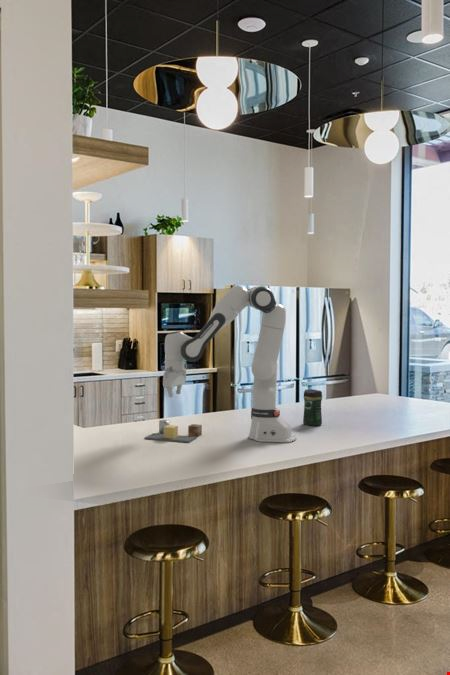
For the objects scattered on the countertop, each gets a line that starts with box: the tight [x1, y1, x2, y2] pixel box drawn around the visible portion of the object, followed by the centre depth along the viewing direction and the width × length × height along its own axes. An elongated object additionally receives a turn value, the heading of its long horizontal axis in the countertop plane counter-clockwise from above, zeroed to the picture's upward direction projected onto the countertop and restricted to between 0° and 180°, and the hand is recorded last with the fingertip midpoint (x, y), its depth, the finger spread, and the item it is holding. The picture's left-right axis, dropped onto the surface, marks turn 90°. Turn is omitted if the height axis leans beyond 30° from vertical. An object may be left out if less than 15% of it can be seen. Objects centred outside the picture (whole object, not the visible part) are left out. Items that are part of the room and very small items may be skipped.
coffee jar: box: [302, 389, 323, 427], centre depth 340 cm, size 10×8×19 cm
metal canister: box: [158, 419, 170, 434], centre depth 314 cm, size 5×5×6 cm
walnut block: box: [187, 423, 203, 438], centre depth 310 cm, size 5×5×5 cm
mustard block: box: [164, 424, 179, 439], centre depth 302 cm, size 5×5×5 cm
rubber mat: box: [144, 432, 198, 444], centre depth 302 cm, size 22×10×1 cm, turn 72°
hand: (174, 395), depth 303 cm, fingers open, 8 cm apart
